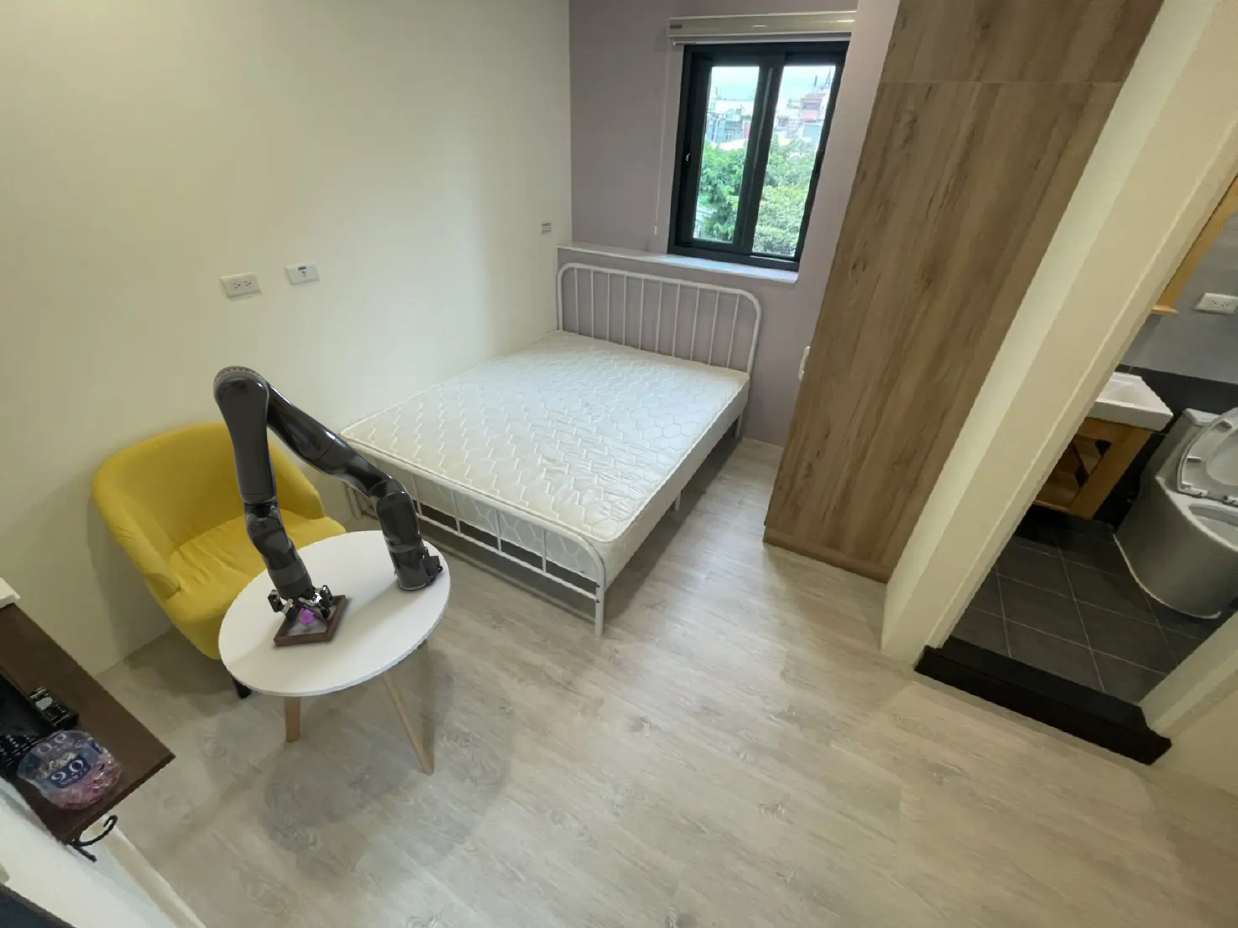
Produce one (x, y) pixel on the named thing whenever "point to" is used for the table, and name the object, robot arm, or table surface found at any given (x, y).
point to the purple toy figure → (308, 616)
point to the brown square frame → (312, 637)
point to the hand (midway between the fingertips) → (310, 618)
